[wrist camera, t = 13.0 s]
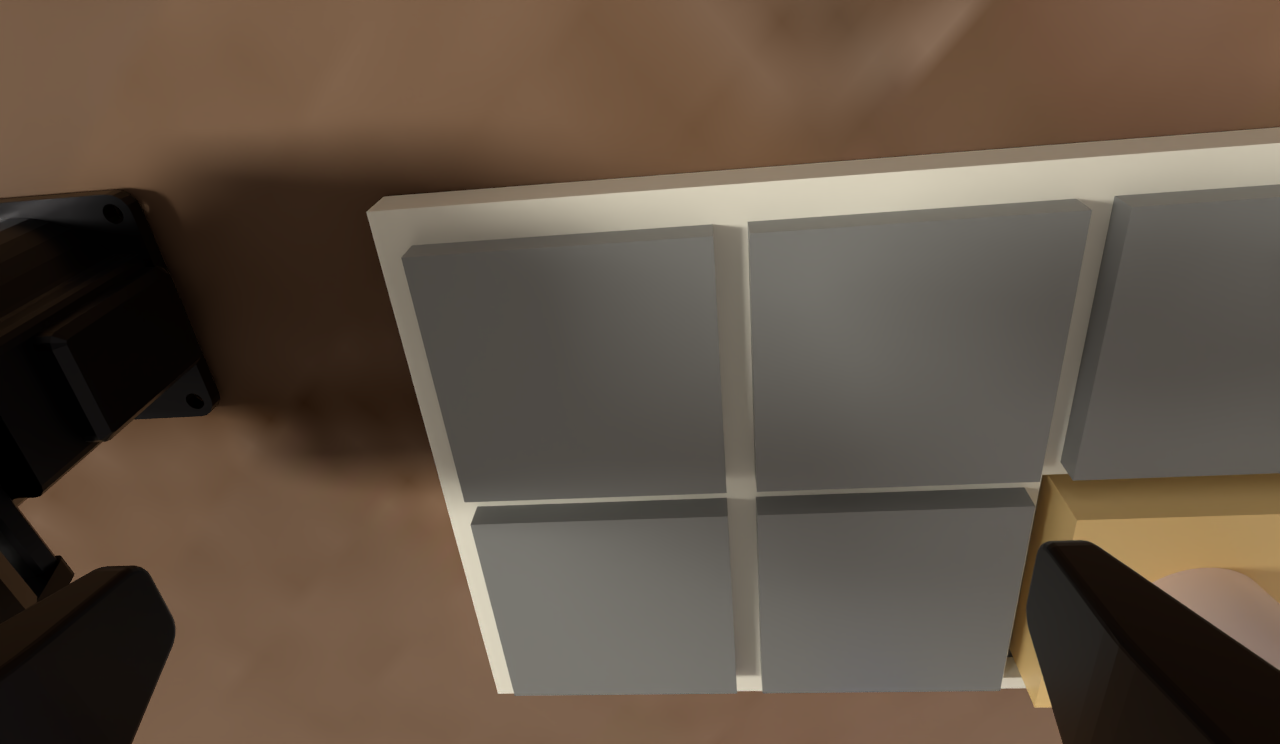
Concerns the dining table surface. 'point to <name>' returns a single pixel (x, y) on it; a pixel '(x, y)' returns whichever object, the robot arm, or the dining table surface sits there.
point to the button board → (822, 396)
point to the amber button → (1155, 534)
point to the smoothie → (1230, 606)
